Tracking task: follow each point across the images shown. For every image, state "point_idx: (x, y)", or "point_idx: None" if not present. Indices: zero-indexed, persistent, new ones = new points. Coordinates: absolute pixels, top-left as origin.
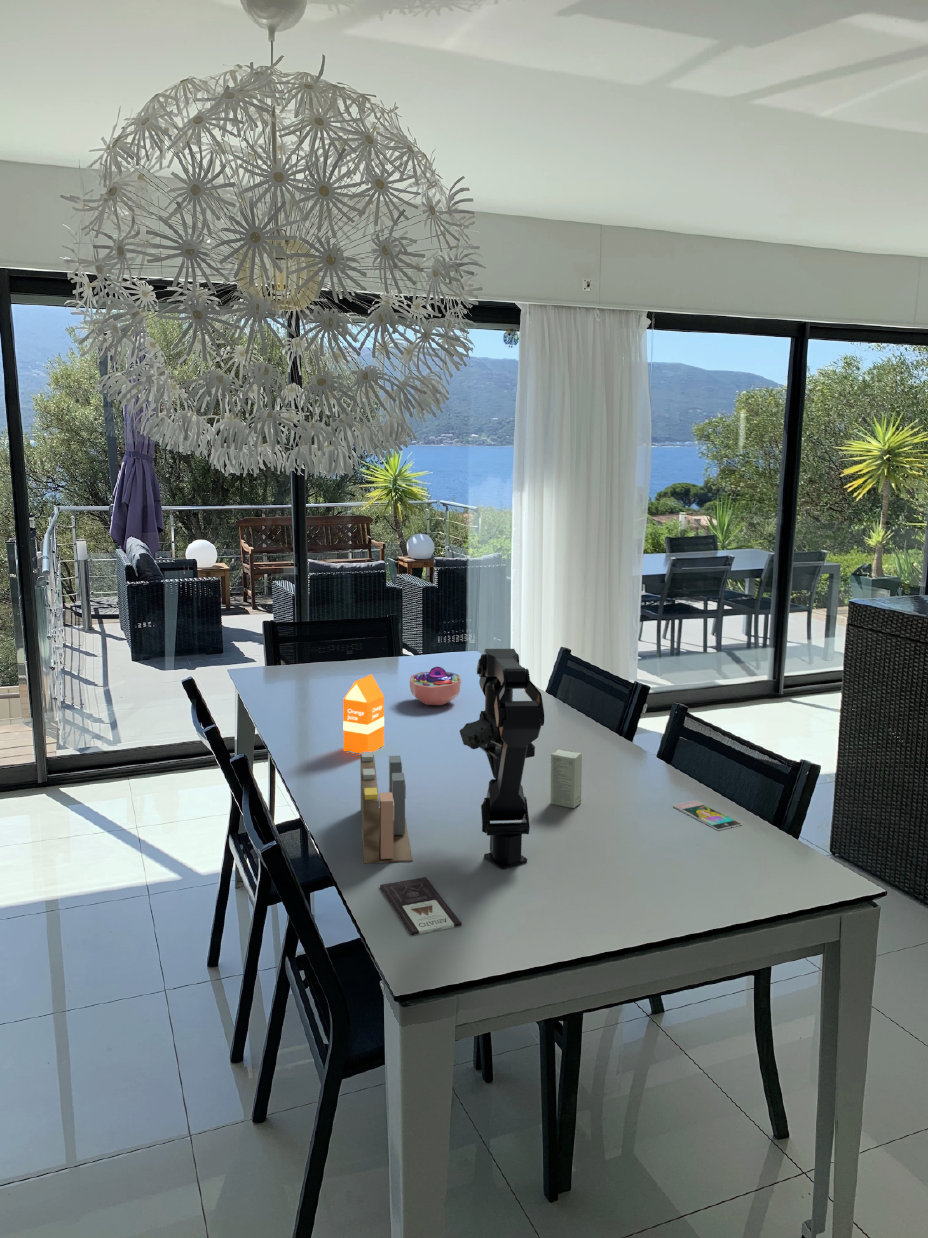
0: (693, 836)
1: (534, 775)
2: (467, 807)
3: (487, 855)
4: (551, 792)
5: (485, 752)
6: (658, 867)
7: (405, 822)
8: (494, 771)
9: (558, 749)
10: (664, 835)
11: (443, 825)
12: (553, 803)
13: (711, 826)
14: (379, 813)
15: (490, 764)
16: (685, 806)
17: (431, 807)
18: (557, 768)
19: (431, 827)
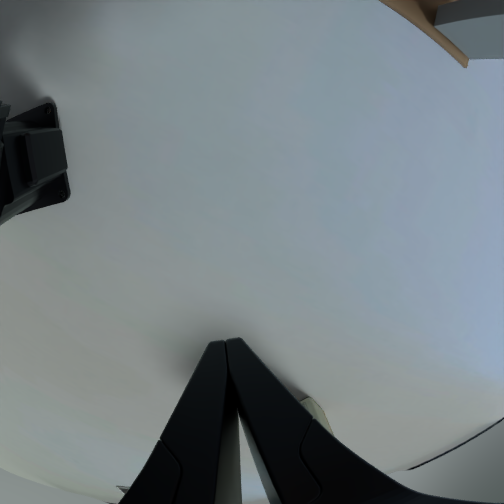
0: (102, 470)
1: (419, 393)
2: (406, 219)
3: (43, 112)
4: (314, 417)
5: (416, 494)
6: (3, 401)
7: (389, 4)
8: (215, 382)
9: None
10: (107, 457)
11: (336, 82)
12: (302, 401)
13: (128, 488)
14: (451, 1)
15: (289, 412)
16: None
17: (447, 131)
18: None
19: (338, 43)
